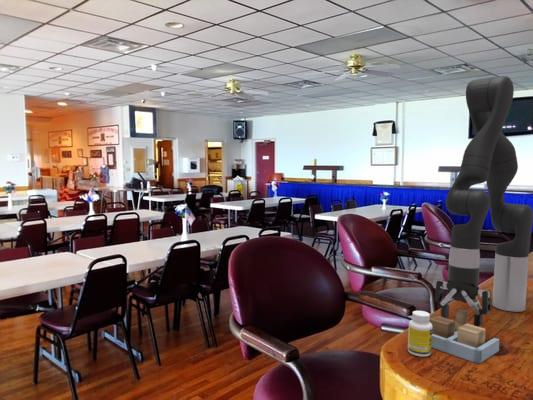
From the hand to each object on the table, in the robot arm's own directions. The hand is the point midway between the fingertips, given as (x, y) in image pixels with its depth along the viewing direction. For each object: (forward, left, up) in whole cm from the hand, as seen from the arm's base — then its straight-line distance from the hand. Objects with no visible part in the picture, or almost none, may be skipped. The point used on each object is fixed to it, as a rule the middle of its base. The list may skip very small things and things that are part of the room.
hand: (460, 323), depth 118 cm
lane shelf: (+9, +4, -3) cm, 10 cm away
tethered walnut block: (+5, 0, -3) cm, 6 cm away
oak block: (+10, +7, -3) cm, 12 cm away
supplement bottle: (+20, -1, -3) cm, 20 cm away
